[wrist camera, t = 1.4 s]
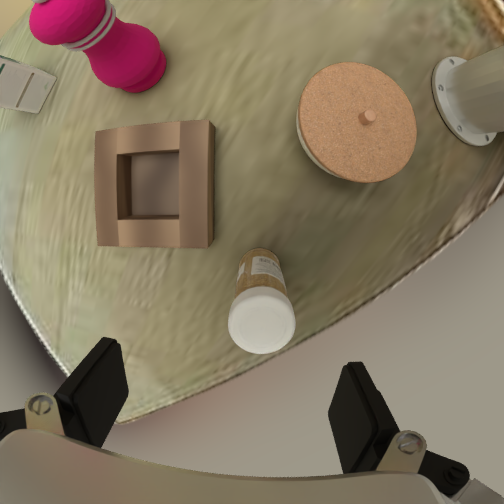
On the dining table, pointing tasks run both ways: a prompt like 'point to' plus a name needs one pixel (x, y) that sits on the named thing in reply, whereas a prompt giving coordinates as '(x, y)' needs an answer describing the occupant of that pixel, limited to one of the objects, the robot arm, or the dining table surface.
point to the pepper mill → (101, 41)
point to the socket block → (155, 185)
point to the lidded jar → (356, 123)
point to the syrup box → (23, 86)
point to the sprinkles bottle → (261, 305)
